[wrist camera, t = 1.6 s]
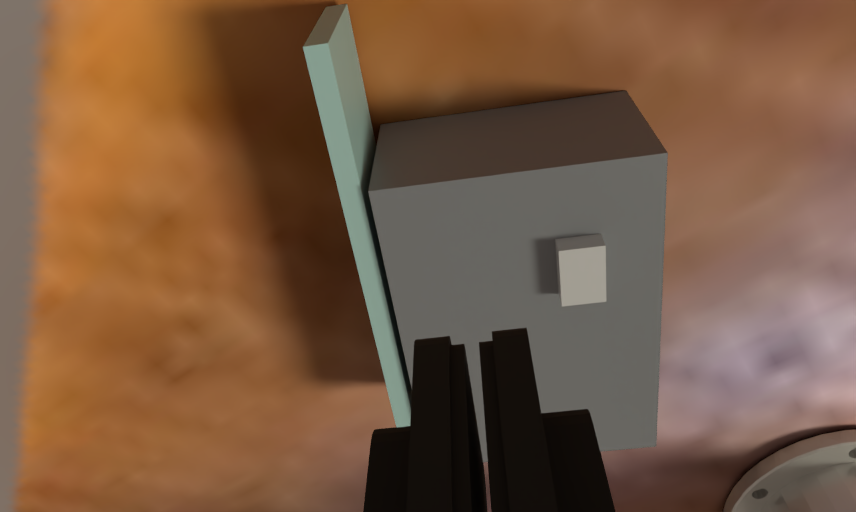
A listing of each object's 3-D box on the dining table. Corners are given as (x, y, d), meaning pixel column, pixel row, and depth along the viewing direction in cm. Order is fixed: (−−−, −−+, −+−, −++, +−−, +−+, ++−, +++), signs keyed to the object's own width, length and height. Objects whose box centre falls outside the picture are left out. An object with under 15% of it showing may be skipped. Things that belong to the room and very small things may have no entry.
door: (426, 387, 36) (425, 467, 32) (409, 389, 36) (405, 468, 32) (348, 3, 26) (329, 42, 21) (324, 6, 26) (301, 47, 21)
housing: (625, 370, 36) (660, 476, 30) (433, 389, 37) (431, 496, 31) (626, 90, 28) (674, 163, 22) (380, 124, 29) (366, 202, 23)
